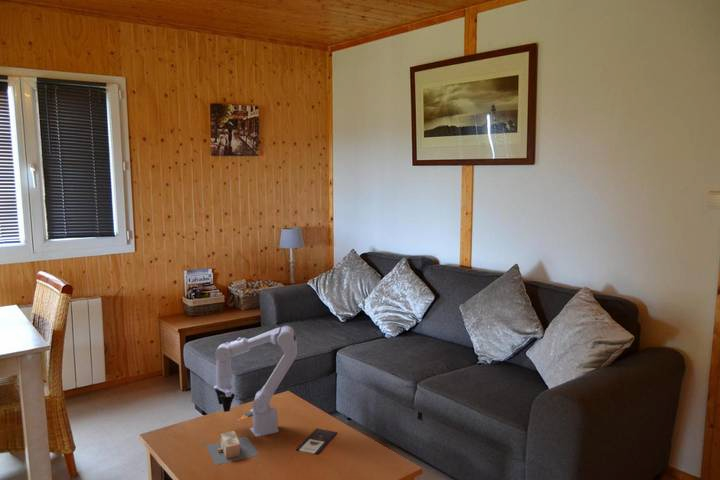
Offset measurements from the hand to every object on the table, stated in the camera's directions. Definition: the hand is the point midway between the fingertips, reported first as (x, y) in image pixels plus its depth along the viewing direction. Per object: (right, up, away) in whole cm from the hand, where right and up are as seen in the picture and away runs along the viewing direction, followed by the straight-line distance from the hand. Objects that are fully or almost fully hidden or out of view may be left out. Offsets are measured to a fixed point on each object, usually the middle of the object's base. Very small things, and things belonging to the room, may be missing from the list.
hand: (224, 407), depth 227 cm
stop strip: (+5, -12, -13) cm, 19 cm away
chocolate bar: (+37, -12, -6) cm, 40 cm away
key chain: (+6, -9, +16) cm, 19 cm away
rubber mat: (+6, -12, -14) cm, 19 cm away
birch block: (+4, -8, -13) cm, 15 cm away
